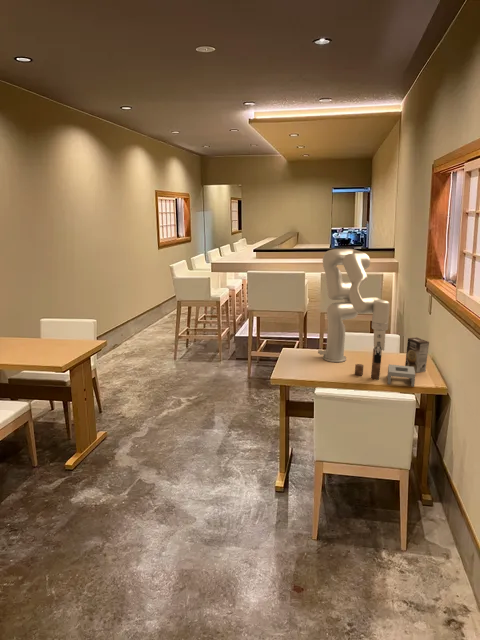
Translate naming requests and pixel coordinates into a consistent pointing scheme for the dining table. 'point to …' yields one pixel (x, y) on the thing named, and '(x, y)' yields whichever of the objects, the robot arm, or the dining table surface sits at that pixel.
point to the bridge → (401, 372)
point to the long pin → (375, 368)
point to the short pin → (359, 369)
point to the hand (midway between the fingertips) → (377, 360)
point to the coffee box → (417, 354)
